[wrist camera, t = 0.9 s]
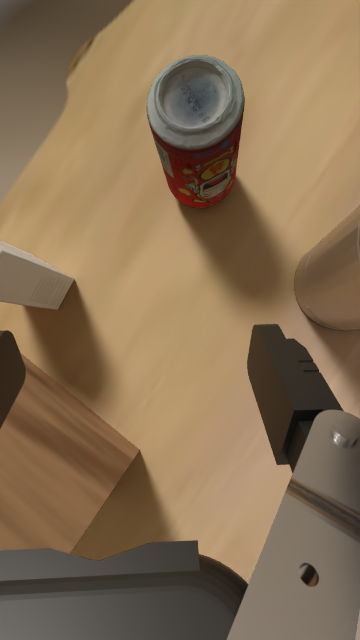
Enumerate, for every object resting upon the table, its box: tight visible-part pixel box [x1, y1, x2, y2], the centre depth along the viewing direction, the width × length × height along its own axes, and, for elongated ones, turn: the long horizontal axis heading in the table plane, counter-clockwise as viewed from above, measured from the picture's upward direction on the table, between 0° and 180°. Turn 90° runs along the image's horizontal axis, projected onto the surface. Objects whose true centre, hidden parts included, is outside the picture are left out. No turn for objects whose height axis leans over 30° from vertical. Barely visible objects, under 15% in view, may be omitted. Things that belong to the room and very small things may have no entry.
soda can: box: [147, 55, 245, 208], centre depth 27 cm, size 7×7×12 cm
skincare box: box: [0, 241, 74, 310], centre depth 29 cm, size 6×4×12 cm
